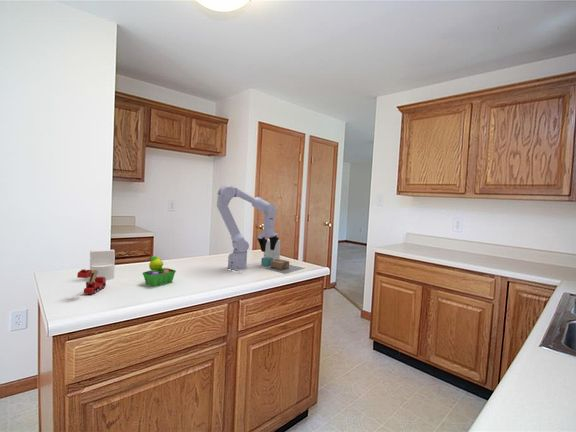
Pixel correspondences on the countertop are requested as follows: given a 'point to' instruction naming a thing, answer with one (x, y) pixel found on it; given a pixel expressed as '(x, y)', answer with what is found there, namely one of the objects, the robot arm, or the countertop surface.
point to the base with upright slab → (103, 263)
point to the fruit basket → (158, 273)
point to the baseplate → (291, 269)
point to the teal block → (266, 261)
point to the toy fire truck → (92, 281)
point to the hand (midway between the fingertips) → (267, 250)
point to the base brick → (279, 264)
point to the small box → (272, 253)
